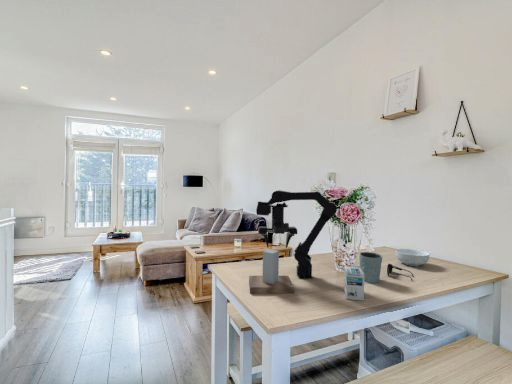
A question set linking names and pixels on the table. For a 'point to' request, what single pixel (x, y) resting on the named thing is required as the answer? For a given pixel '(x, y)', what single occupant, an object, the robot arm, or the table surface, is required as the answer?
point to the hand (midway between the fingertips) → (277, 247)
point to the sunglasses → (389, 270)
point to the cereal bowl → (412, 256)
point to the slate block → (270, 266)
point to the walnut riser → (270, 285)
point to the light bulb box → (354, 282)
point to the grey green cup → (370, 266)
